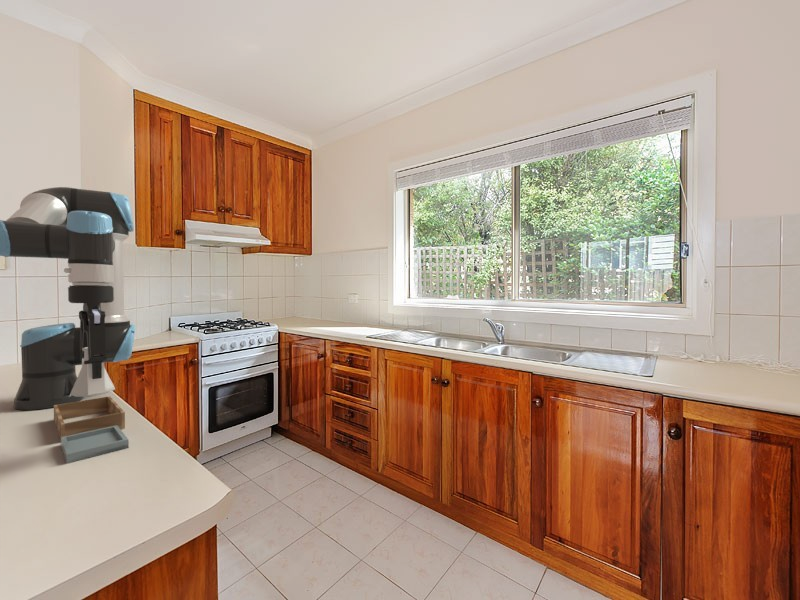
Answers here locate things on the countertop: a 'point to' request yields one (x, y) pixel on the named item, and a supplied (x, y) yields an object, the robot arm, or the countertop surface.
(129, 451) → the countertop surface
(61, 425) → the caddy
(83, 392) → the flask
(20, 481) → the countertop surface
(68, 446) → the tray
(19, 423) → the countertop surface
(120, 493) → the countertop surface
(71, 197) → the robot arm
